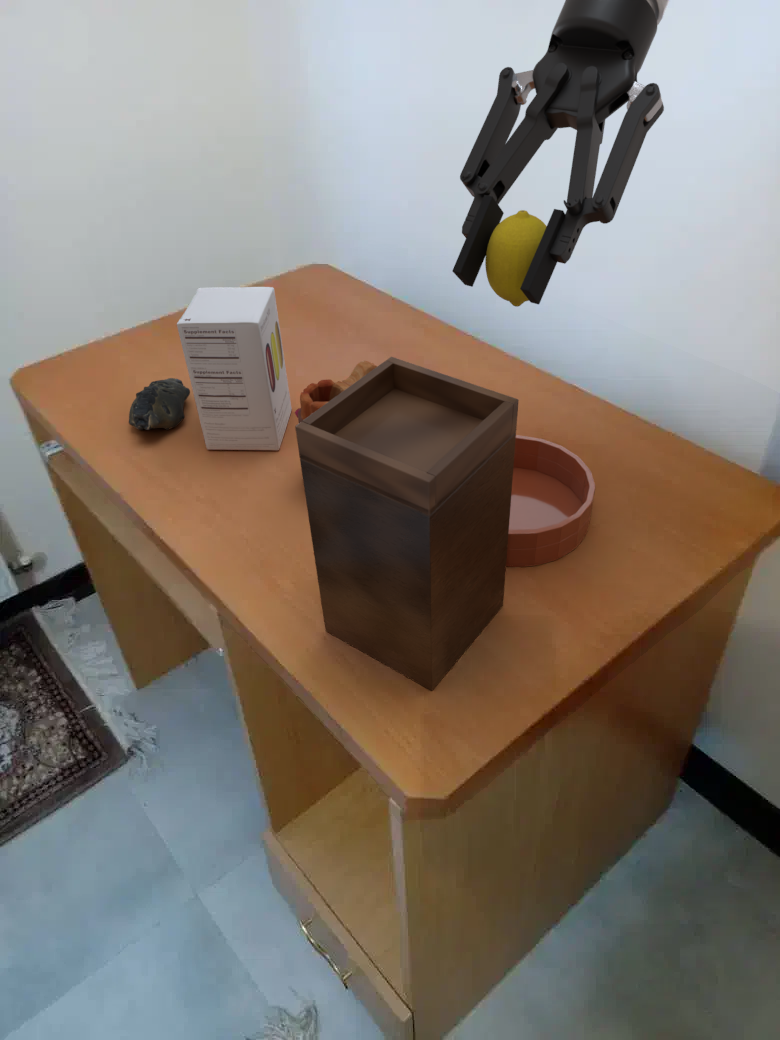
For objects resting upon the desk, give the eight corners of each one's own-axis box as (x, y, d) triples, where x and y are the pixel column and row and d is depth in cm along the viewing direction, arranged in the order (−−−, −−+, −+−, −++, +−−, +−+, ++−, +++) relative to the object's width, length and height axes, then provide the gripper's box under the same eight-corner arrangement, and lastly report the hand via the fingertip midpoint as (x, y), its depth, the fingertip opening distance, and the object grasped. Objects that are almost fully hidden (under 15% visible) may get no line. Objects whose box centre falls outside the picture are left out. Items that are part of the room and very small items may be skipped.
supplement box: (280, 452, 95) (258, 323, 84) (205, 451, 96) (173, 324, 84) (293, 408, 102) (275, 284, 91) (223, 407, 103) (196, 285, 92)
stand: (503, 605, 75) (516, 431, 62) (431, 691, 68) (429, 516, 55) (400, 556, 80) (392, 387, 67) (325, 631, 73) (299, 458, 60)
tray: (516, 431, 62) (518, 399, 60) (429, 516, 55) (429, 482, 53) (392, 387, 67) (391, 356, 65) (299, 458, 60) (294, 426, 58)
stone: (201, 388, 107) (193, 352, 103) (177, 444, 97) (167, 407, 93) (152, 388, 107) (142, 353, 104) (122, 445, 97) (111, 408, 94)
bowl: (615, 499, 86) (621, 466, 83) (543, 589, 76) (547, 556, 73) (486, 451, 93) (487, 419, 90) (406, 527, 84) (405, 494, 81)
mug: (328, 511, 86) (316, 413, 78) (289, 484, 90) (274, 388, 82) (409, 461, 92) (406, 365, 84) (369, 437, 96) (363, 344, 88)
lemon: (474, 298, 68) (476, 204, 63) (532, 287, 70) (539, 194, 64) (499, 326, 64) (504, 228, 59) (561, 314, 66) (571, 217, 60)
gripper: (736, 51, 61) (613, 334, 62) (524, 33, 69) (420, 281, 70) (728, -22, 54) (591, 296, 55) (495, -31, 63) (381, 243, 64)
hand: (495, 287), depth 63 cm, fingers closed on lemon, 5 cm apart
